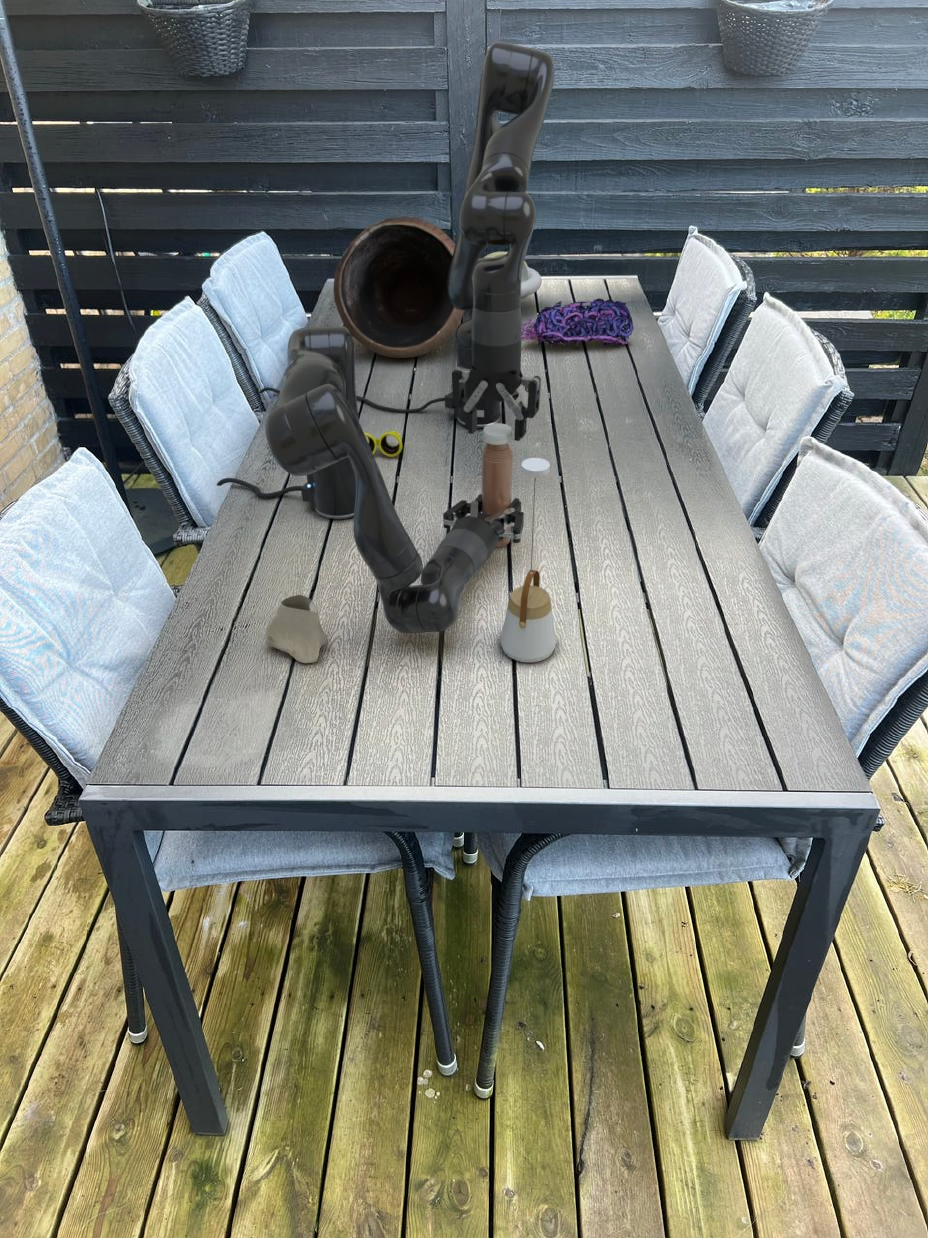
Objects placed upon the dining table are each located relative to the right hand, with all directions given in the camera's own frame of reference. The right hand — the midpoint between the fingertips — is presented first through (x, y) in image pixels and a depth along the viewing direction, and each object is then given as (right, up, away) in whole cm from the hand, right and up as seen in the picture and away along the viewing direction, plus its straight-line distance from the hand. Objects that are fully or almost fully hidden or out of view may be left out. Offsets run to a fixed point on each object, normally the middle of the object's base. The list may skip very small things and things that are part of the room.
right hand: (495, 435), depth 149 cm
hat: (+5, +55, +104) cm, 117 cm away
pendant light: (+4, -34, -11) cm, 36 cm away
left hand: (+1, -9, +10) cm, 14 cm away
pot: (-19, +41, +86) cm, 97 cm away
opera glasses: (-22, +4, +38) cm, 44 cm away
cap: (0, +1, 0) cm, 1 cm away
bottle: (+1, -16, +12) cm, 20 cm away
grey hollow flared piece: (-30, -34, -12) cm, 47 cm away
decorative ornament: (+21, +38, +83) cm, 94 cm away
